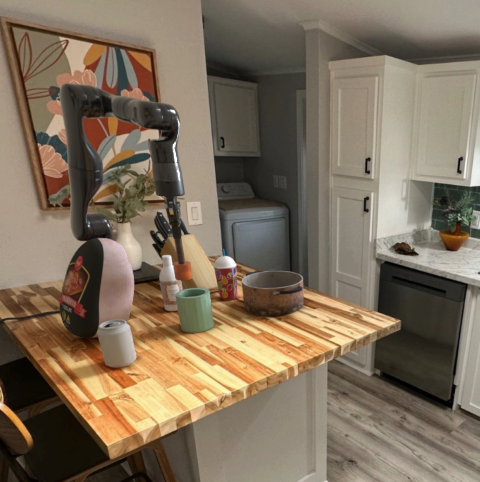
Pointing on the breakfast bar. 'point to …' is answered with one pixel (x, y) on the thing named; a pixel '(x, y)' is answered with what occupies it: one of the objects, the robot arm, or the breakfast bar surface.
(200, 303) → the jar
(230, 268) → the smoothie
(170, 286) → the bath foam
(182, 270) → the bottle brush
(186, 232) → the knife block
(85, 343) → the breakfast bar surface
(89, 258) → the packaged food
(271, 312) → the cooking pot
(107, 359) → the can
